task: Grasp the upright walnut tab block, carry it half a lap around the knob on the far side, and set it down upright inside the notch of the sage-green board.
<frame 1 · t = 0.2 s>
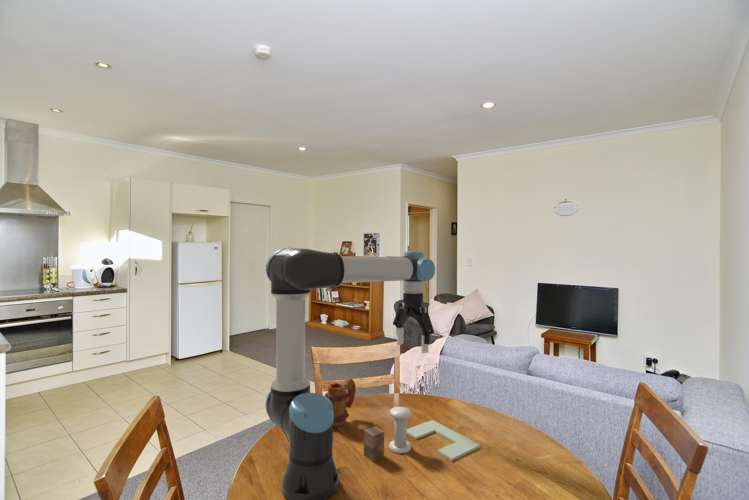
hand: (412, 348, 142), 28 cm above the table, fingers open, 13 cm apart
knob: (400, 447, 123), on the table
tab block: (373, 456, 118), on the table
mug: (341, 421, 141), on the table
notched board: (436, 441, 128), on the table
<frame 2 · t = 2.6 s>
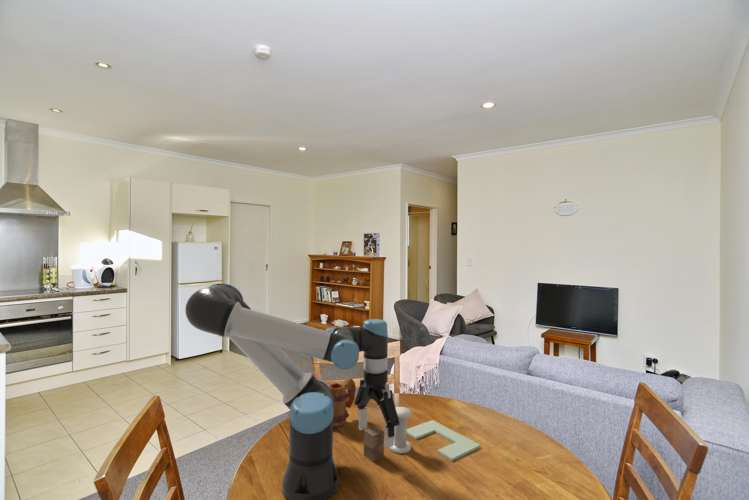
hand: (375, 437, 118), 6 cm above the table, fingers open, 13 cm apart
nothing on the table moved.
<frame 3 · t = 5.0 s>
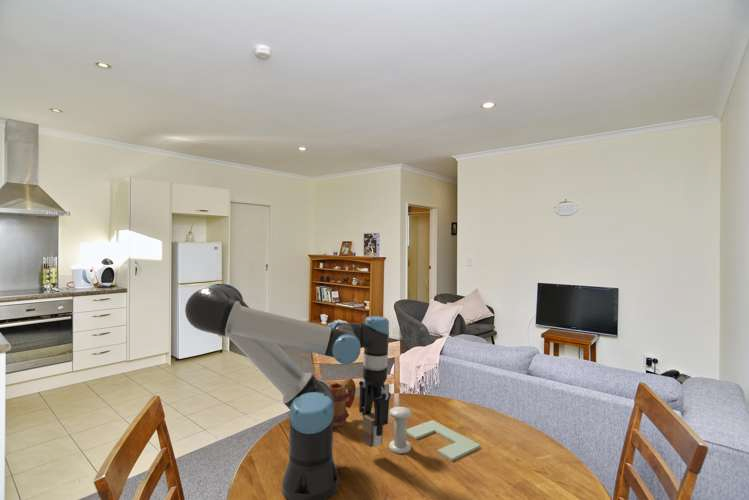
hand: (371, 440, 118), 5 cm above the table, fingers closed on tab block, 4 cm apart
tab block: (372, 442, 118), point 4 cm above the table, touching gripper
everything else where it was.
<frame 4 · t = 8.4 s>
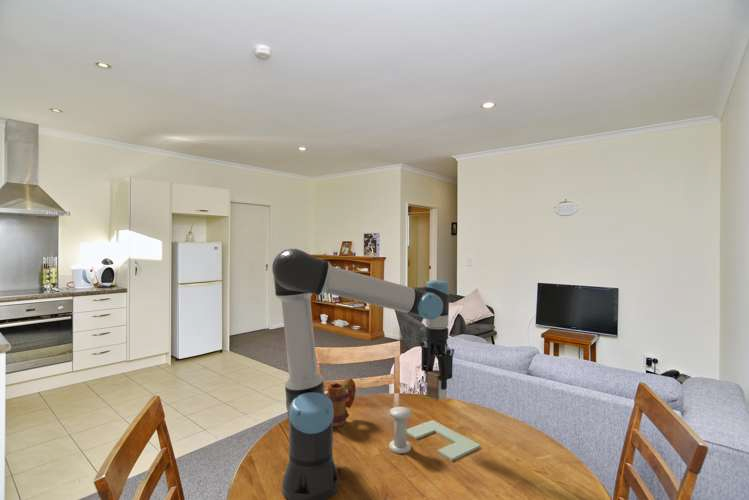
hand: (435, 395, 127), 16 cm above the table, fingers closed on tab block, 4 cm apart
tab block: (436, 396, 127), point 16 cm above the table, touching gripper
everything else where it was.
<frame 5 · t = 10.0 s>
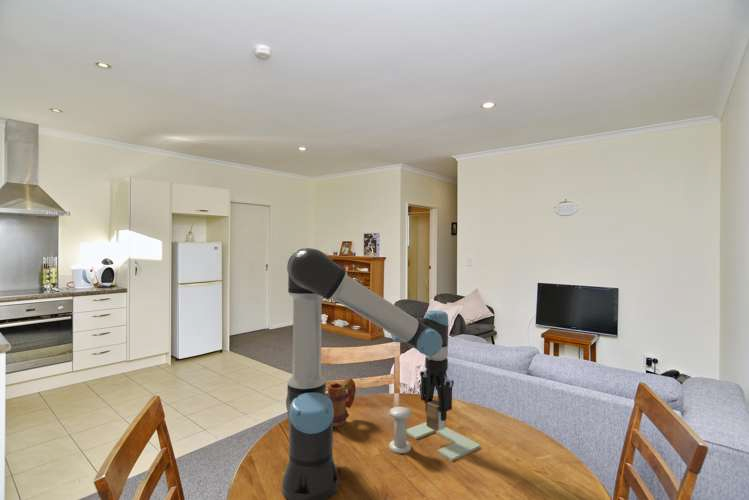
hand: (435, 426, 127), 5 cm above the table, fingers closed on tab block, 4 cm apart
tab block: (435, 426, 127), point 5 cm above the table, touching gripper
everything else where it was.
when the fingers open (1 cm above the table, at t = 11.6 s): tab block stays where it is, on the table.
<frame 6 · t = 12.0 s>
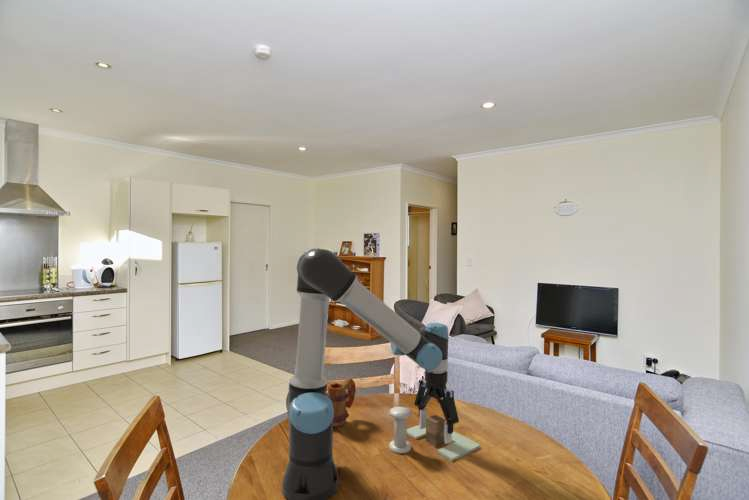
hand: (435, 434, 127), 2 cm above the table, fingers open, 11 cm apart
tab block: (435, 442, 127), on the table
everything else where it was.
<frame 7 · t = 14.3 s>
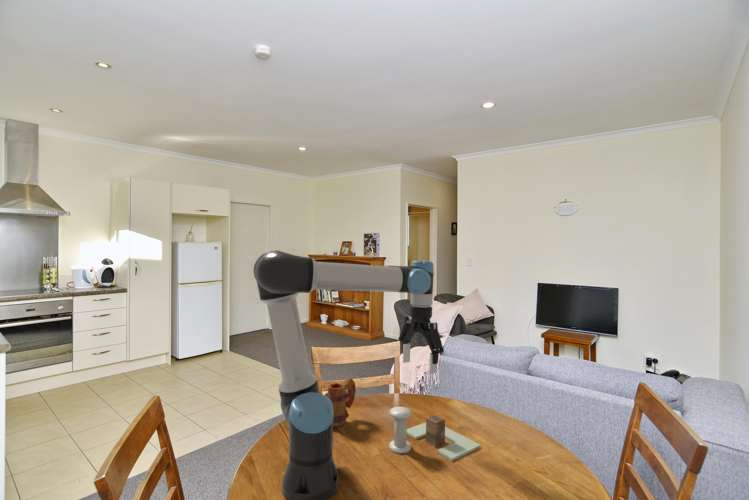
hand: (419, 367, 129), 25 cm above the table, fingers open, 13 cm apart
nothing on the table moved.
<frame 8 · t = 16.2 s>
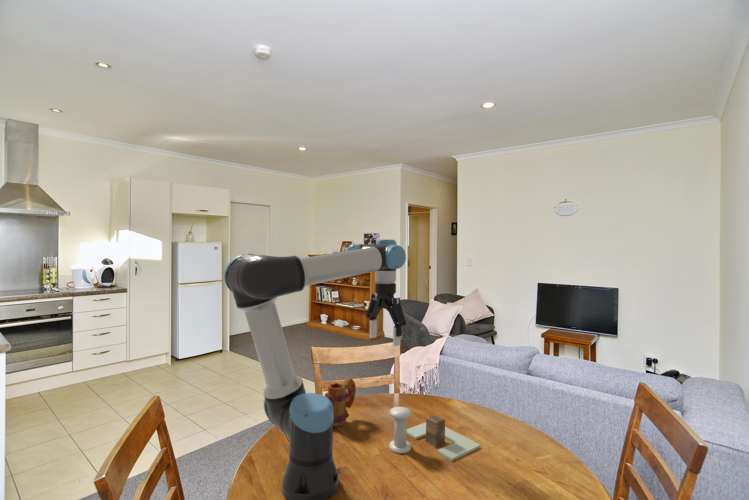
hand: (384, 341, 135), 32 cm above the table, fingers open, 13 cm apart
nothing on the table moved.
at the end: tab block inside the target area (0.3 cm from its centre), on the table; tab block tilted 0°; the gripper is holding nothing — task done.
